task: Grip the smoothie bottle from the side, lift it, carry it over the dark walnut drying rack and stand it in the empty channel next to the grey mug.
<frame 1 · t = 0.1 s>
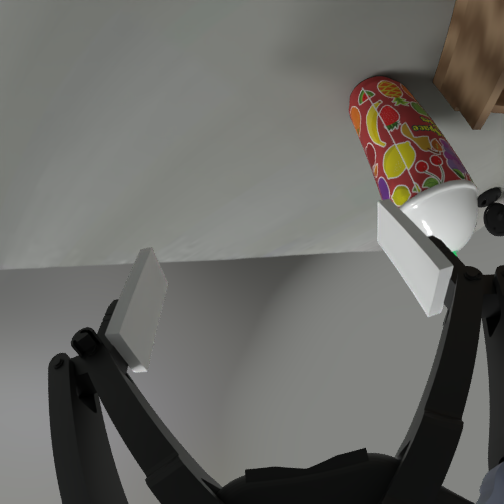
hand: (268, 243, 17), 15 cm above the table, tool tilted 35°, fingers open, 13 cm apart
webcam: (487, 194, 50), on the table
smoothie: (373, 95, 25), on the table
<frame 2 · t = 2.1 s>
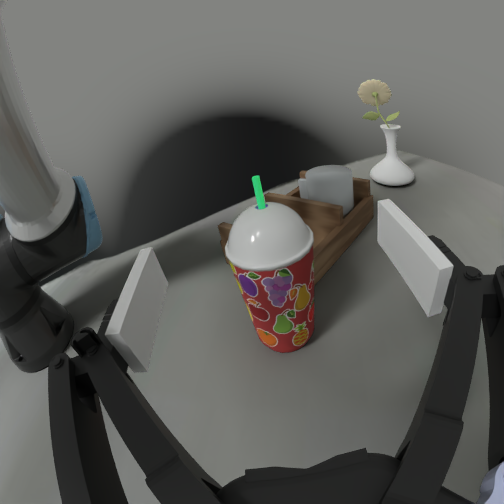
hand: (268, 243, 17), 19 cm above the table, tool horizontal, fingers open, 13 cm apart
rack: (305, 238, 52), on the table
flower in vase: (389, 181, 66), on the table
smoothie: (287, 335, 35), on the table
mug: (332, 219, 53), point 1 cm above the table, touching rack
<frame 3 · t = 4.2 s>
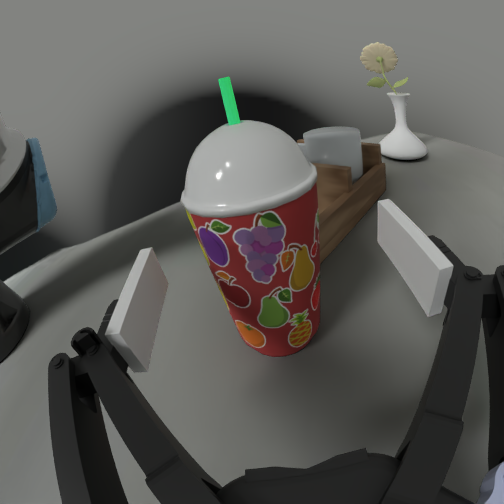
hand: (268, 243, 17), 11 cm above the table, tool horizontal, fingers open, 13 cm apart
rack: (305, 213, 42), on the table
flower in vase: (399, 156, 56), on the table
smoothie: (281, 332, 25), on the table
mug: (337, 190, 43), point 1 cm above the table, touching rack
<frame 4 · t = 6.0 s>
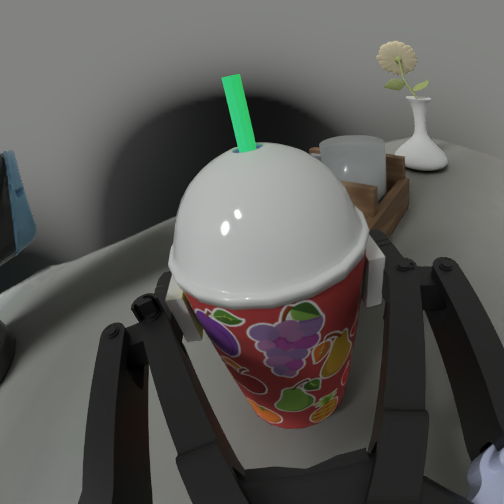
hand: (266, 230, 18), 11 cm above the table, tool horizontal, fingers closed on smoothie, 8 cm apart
rack: (320, 235, 36), on the table
flower in vase: (417, 166, 50), on the table
smoothie: (298, 395, 20), on the table, touching gripper
mug: (356, 209, 37), point 1 cm above the table, touching rack
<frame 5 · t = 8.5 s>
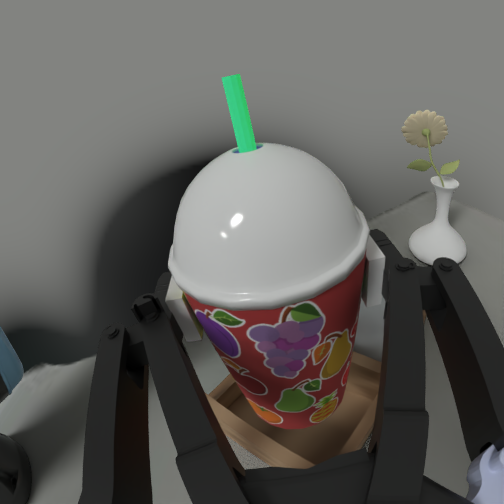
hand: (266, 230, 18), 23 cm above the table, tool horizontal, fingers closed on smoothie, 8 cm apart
rack: (326, 382, 32), on the table
flower in vase: (432, 253, 46), on the table
smoothie: (298, 396, 20), point 12 cm above the table, touching gripper
mug: (366, 349, 33), point 1 cm above the table, touching rack
when the fingers open (14 cm above the table, at t = 10.9 s): smoothie drops 1 cm, resting on rack.
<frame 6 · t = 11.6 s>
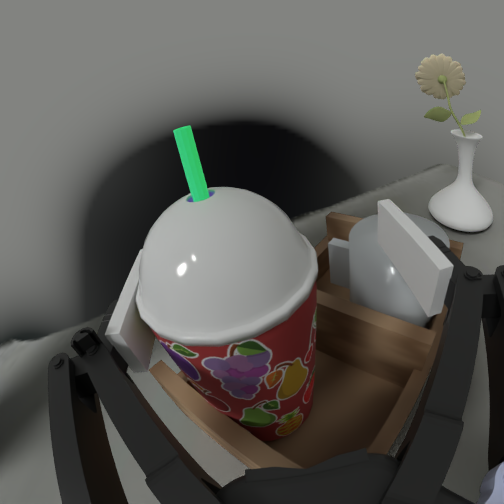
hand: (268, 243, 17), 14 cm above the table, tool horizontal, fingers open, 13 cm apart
rack: (338, 362, 24), on the table
flower in vase: (455, 219, 38), on the table
smoothie: (269, 409, 21), point 1 cm above the table, touching gripper, rack
mug: (390, 319, 25), point 1 cm above the table, touching rack
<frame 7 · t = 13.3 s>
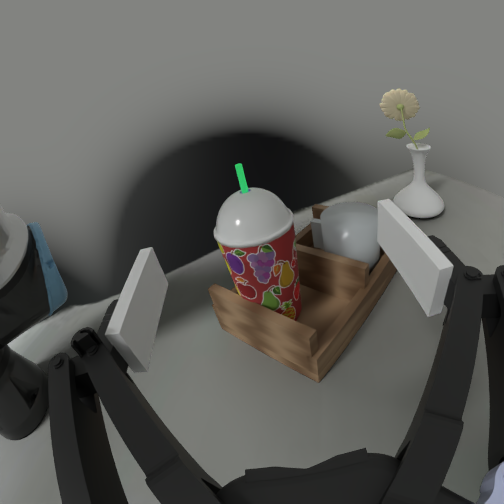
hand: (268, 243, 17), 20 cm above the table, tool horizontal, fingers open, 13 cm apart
rack: (319, 295, 41), on the table
flower in vase: (414, 210, 55), on the table
smoothie: (276, 318, 38), point 1 cm above the table, touching rack
mug: (352, 269, 42), point 1 cm above the table, touching rack
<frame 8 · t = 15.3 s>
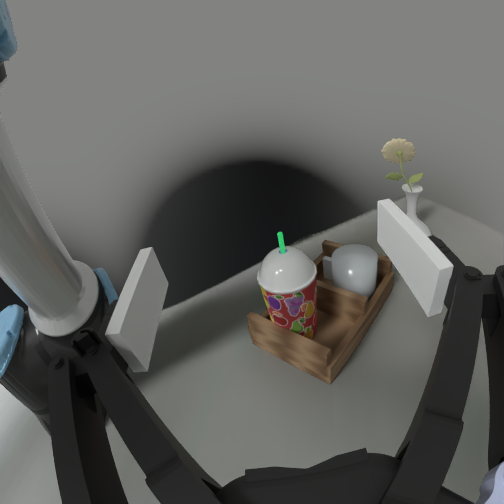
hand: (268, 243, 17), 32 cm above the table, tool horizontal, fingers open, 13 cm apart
rack: (328, 316, 52), on the table
flower in vase: (406, 239, 66), on the table
smoothie: (297, 335, 49), point 1 cm above the table, touching rack
mug: (354, 296, 53), point 1 cm above the table, touching rack
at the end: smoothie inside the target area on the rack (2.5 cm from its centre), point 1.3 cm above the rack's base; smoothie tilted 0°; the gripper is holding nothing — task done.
